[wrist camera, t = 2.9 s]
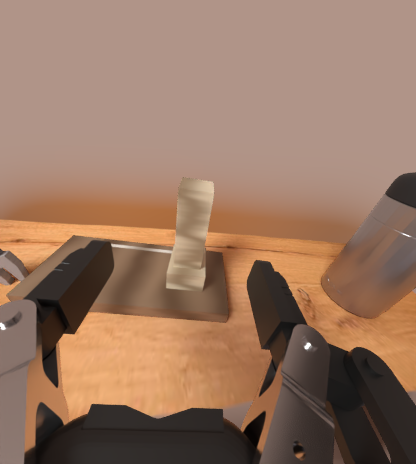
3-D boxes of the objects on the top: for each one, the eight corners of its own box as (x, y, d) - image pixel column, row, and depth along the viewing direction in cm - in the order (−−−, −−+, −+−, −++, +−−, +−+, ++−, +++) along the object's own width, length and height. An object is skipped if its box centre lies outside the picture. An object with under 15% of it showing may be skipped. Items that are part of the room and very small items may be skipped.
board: (220, 260, 33) (222, 252, 32) (225, 322, 23) (229, 313, 22) (76, 244, 31) (73, 234, 30) (14, 305, 21) (5, 294, 20)
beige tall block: (203, 258, 30) (218, 178, 22) (202, 291, 24) (221, 198, 17) (173, 255, 29) (178, 172, 22) (166, 288, 24) (169, 190, 16)
